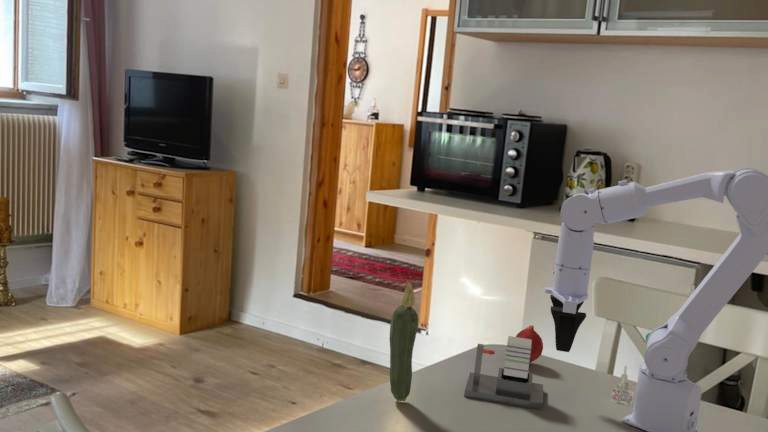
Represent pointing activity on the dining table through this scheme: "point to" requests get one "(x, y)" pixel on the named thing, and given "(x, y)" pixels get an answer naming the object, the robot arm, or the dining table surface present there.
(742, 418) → the dining table surface
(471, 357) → the dining table surface
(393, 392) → the vegetable
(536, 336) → the onion
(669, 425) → the robot arm
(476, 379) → the jack base
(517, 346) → the column
